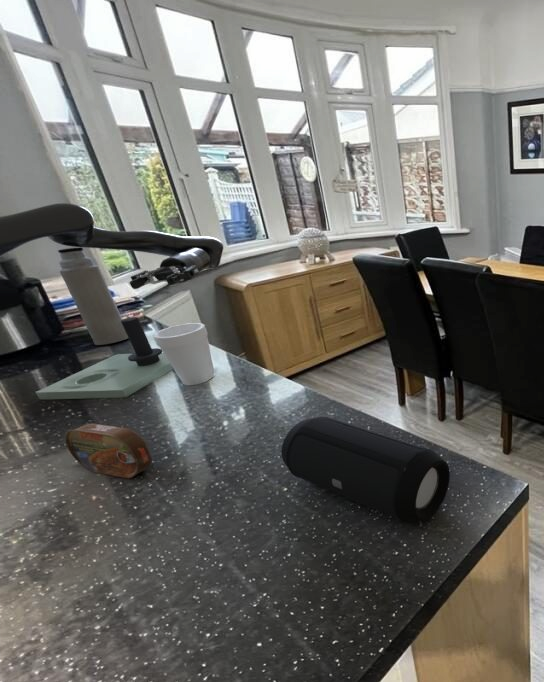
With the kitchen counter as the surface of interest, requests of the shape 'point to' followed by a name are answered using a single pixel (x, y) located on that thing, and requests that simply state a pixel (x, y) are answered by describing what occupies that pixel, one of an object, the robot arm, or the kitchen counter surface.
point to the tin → (109, 450)
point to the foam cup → (187, 351)
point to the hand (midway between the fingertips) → (150, 283)
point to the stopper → (140, 343)
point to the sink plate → (107, 379)
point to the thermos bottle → (91, 297)
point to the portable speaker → (368, 467)
